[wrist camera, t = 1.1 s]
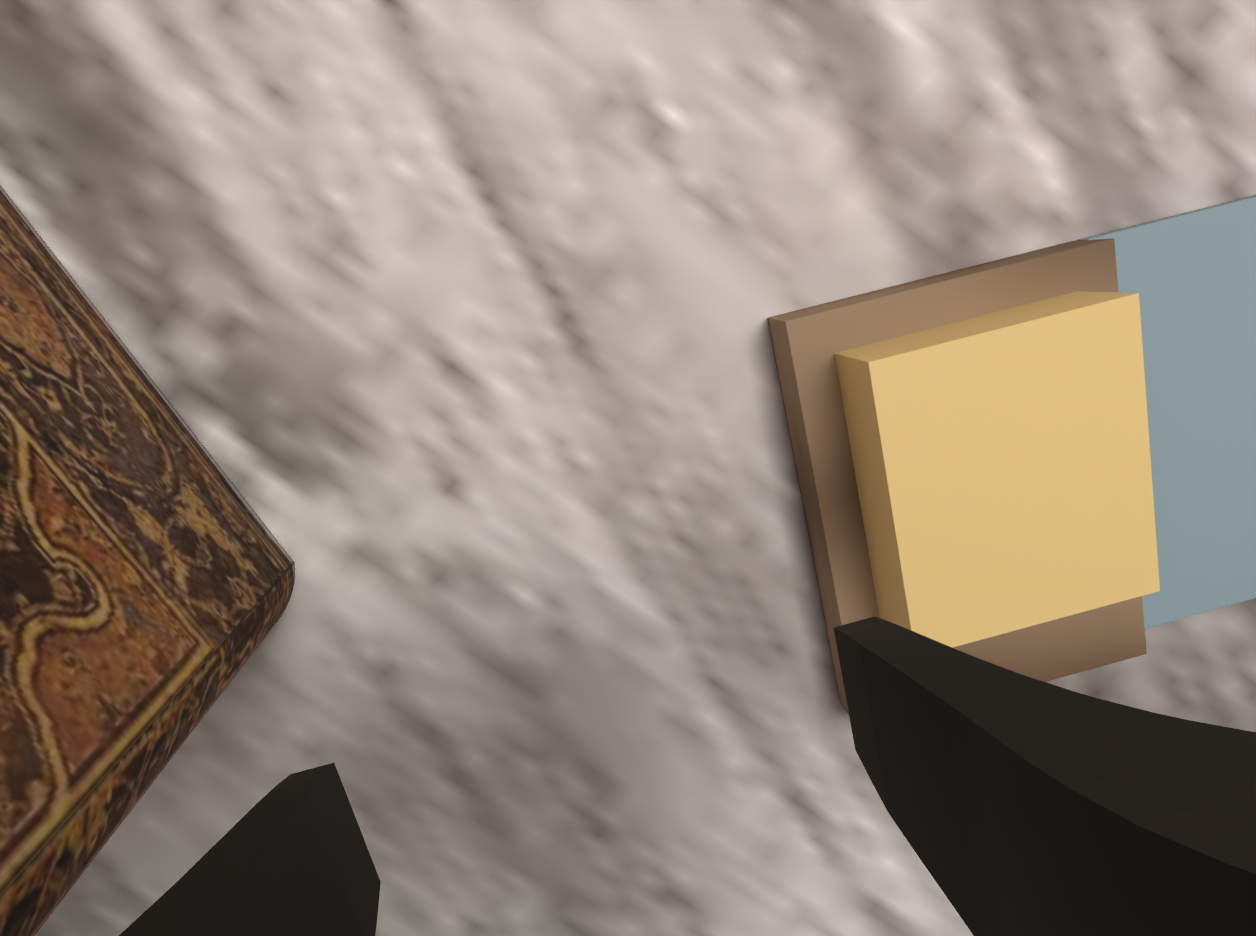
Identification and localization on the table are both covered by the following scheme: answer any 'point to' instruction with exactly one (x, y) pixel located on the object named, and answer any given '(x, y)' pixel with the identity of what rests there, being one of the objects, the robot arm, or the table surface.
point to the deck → (827, 456)
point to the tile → (1005, 466)
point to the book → (102, 579)
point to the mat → (1198, 399)
